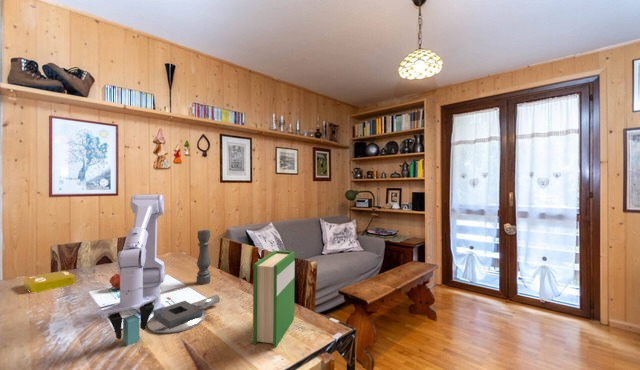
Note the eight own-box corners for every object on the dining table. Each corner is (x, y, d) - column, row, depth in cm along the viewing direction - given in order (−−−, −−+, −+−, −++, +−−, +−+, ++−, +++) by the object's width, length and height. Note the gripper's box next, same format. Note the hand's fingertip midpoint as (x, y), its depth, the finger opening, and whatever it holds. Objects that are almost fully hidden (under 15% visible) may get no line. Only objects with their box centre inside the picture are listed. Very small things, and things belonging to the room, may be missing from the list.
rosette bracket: (138, 322, 95) (138, 310, 95) (204, 299, 115) (205, 289, 115) (162, 340, 85) (162, 327, 85) (231, 311, 104) (231, 300, 104)
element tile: (76, 284, 132) (76, 274, 132) (31, 294, 119) (32, 283, 119) (65, 278, 140) (65, 269, 140) (22, 287, 127) (22, 277, 128)
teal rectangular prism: (122, 341, 84) (123, 318, 84) (134, 336, 86) (134, 314, 86) (127, 345, 82) (128, 322, 82) (139, 341, 84) (139, 318, 84)
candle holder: (199, 280, 138) (199, 230, 138) (211, 280, 138) (212, 230, 138) (194, 284, 131) (195, 232, 132) (208, 284, 132) (208, 232, 132)
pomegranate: (108, 298, 121) (129, 283, 123) (98, 284, 121) (119, 269, 123) (118, 293, 128) (138, 279, 130) (109, 280, 129) (128, 266, 130)
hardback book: (276, 347, 81) (276, 265, 81) (252, 344, 83) (253, 264, 83) (294, 319, 99) (294, 251, 99) (274, 317, 100) (275, 250, 100)
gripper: (107, 299, 76) (106, 349, 76) (162, 284, 87) (162, 327, 87) (98, 293, 80) (98, 340, 80) (153, 279, 92) (152, 320, 92)
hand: (131, 333), depth 84 cm, fingers open, 6 cm apart
